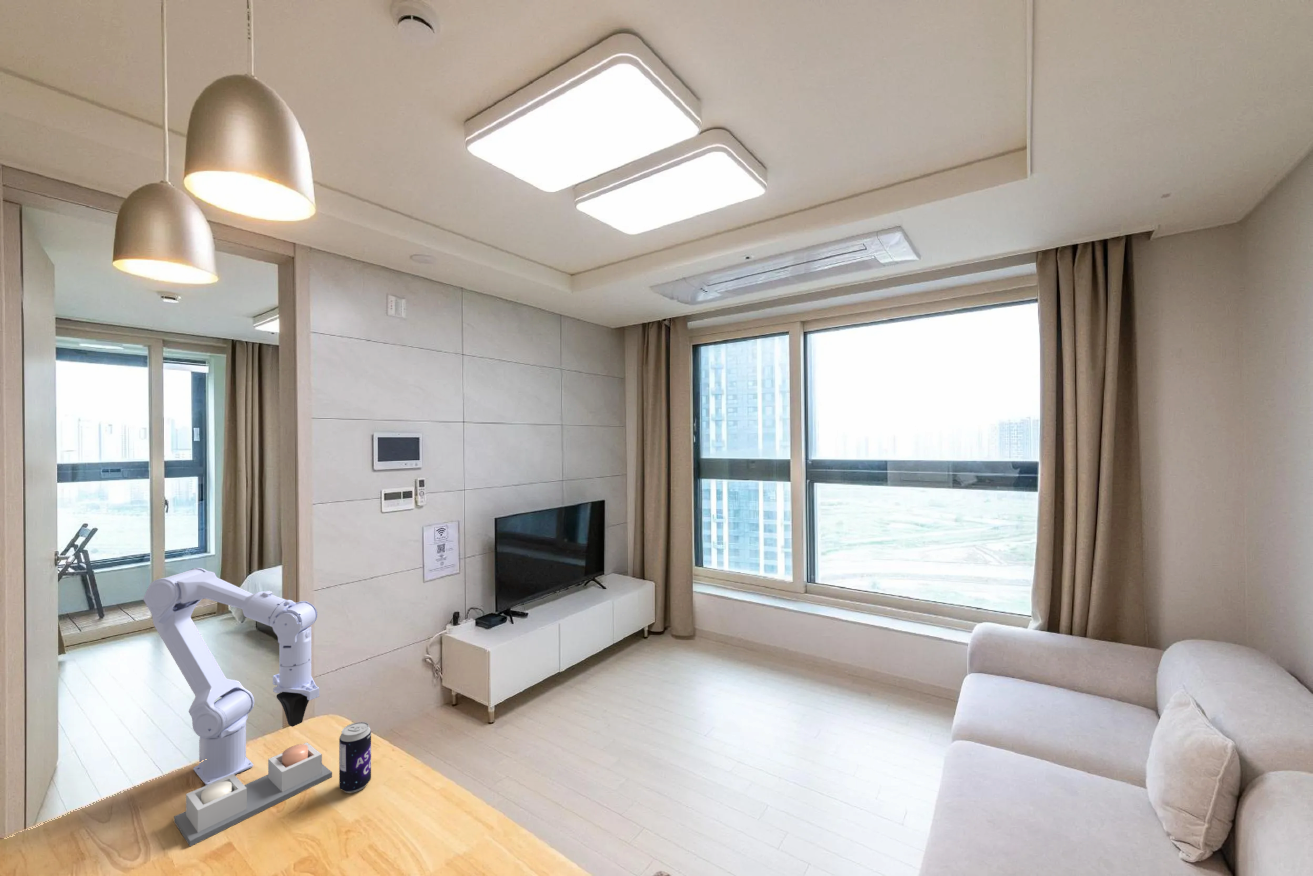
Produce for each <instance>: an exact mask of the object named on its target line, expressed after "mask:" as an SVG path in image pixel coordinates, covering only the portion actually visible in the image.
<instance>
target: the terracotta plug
mask: <svg viewBox="0 0 1313 876" xmlns="http://www.w3.org/2000/svg"><path fill="white" fill-rule="evenodd" d="M282 753H283V754H282V765H284V766H285V767H289V766H291V765H293V764H295V763H298V762H300V761H302V760H304V759H306V758H308V746H307V745H305V744H304V743H302V744H301V743H299V744H296V745H293V746H290V747H288V748H285V750H283V752H282Z"/></svg>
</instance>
